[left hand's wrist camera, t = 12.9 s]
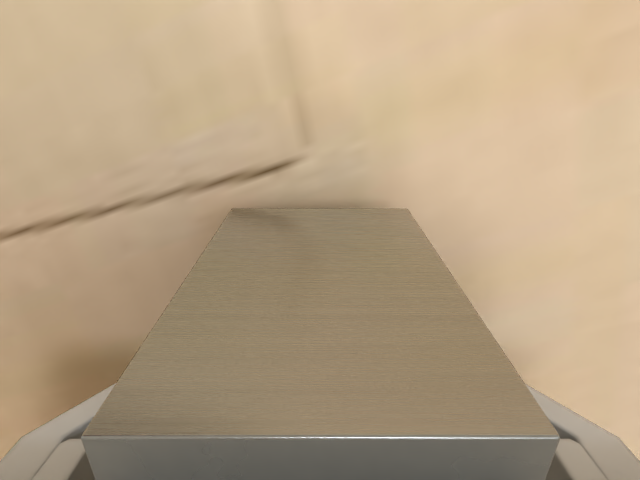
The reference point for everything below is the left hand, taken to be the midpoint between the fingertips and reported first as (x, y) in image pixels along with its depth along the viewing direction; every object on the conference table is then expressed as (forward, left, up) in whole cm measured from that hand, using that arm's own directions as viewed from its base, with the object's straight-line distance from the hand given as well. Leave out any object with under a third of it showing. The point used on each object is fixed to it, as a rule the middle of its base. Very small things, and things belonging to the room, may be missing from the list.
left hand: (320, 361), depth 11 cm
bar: (-7, +6, -4) cm, 10 cm away
